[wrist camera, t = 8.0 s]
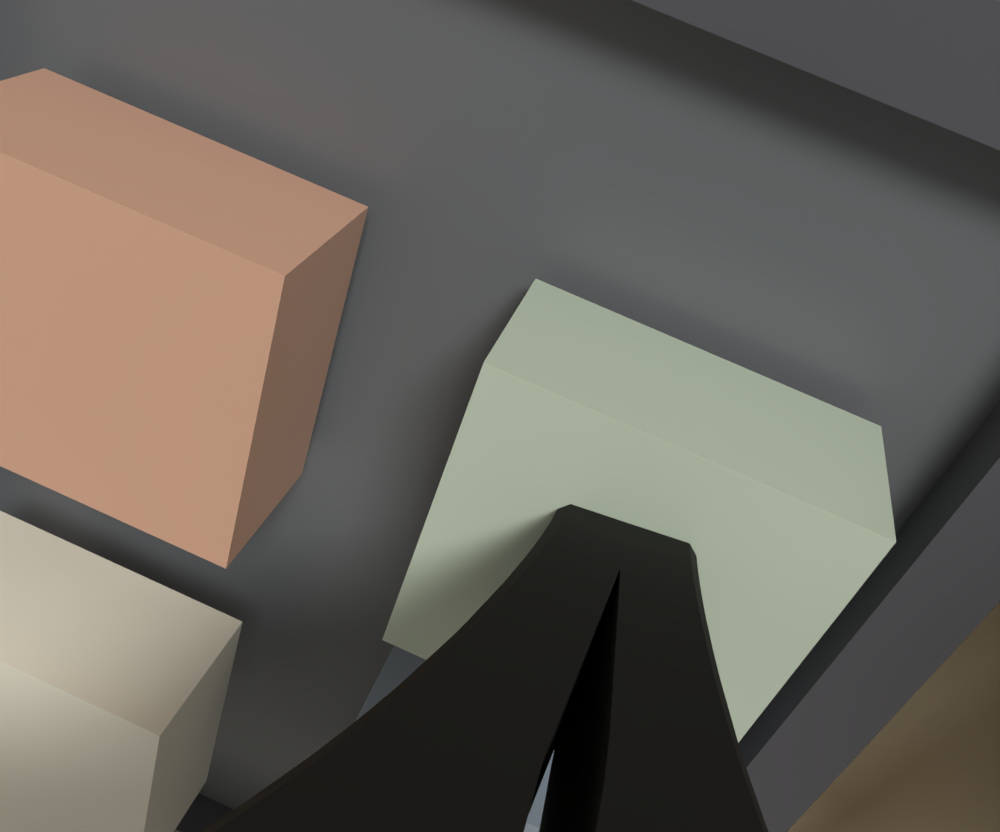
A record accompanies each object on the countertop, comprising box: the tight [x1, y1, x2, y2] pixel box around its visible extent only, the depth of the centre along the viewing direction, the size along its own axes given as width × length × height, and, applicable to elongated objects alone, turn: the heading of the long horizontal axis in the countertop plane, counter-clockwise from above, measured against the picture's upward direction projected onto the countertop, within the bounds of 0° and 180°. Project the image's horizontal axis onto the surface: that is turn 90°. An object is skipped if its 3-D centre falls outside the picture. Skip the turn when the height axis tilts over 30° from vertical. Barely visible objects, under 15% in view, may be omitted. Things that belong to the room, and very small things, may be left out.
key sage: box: [382, 279, 896, 743], centre depth 10 cm, size 4×4×2 cm
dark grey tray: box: [0, 0, 1000, 832], centre depth 13 cm, size 14×18×2 cm
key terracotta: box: [0, 68, 368, 569], centre depth 11 cm, size 4×4×2 cm
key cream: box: [0, 511, 242, 832], centre depth 13 cm, size 4×4×2 cm
